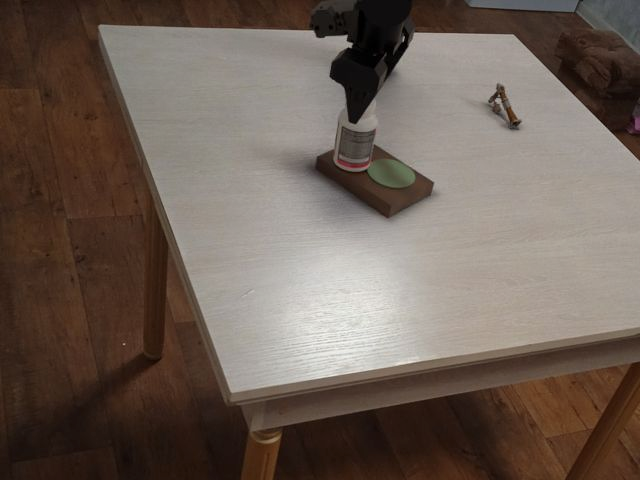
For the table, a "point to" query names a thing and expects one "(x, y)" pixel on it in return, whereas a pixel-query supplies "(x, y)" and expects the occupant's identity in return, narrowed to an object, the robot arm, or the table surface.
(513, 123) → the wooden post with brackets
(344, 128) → the pill bottle
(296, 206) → the table surface
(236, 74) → the table surface
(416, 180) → the wooden coaster tray
